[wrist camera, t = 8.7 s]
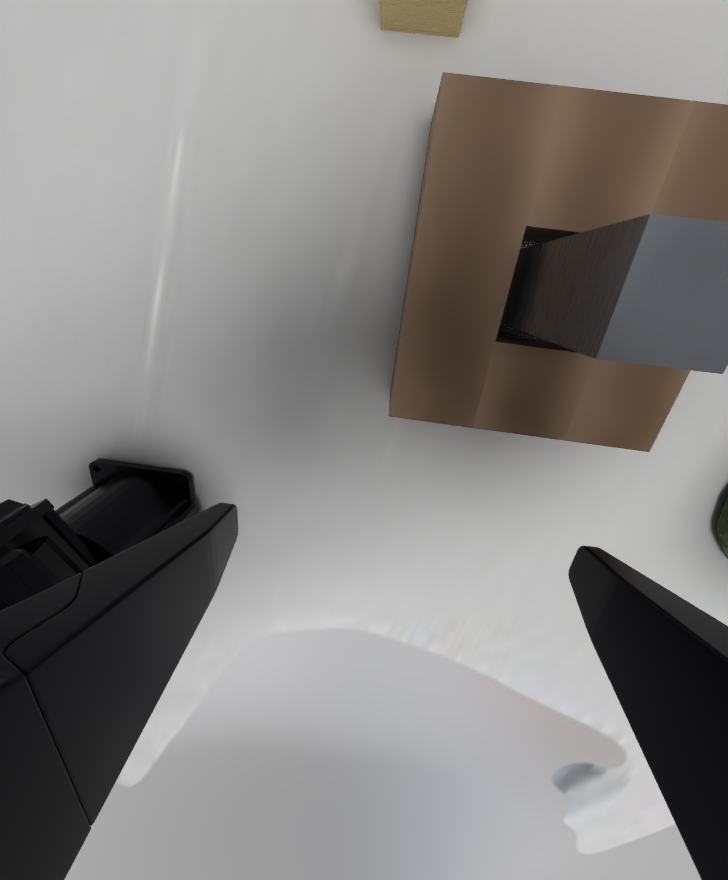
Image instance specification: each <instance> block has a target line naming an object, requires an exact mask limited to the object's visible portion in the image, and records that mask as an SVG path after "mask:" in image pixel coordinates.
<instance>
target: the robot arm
mask: <svg viewBox="0 0 728 880" xmlns="http://www.w3.org/2000/svg"><path fill="white" fill-rule="evenodd" d="M98 466H99V467H100V468H99V467H98ZM89 469H90V473H91V478H92V482H93V486H91V487H90V488H88V489H87V490H86V491H84V492H83V493H81V494H80V495H78V496H77V497H75V498H74V499H72V500H71V501H69V502H68V503H66V504H65V505H63V506H62V507H60V508H59V509H57V510H56V511H54V509H53V508H54V506H53V505H52V504H51V503H50V502H49V501H48V500H47V499H44V500H42V501H40V502H38V503H35V504H33V505H31V506H29V505H28V504H26V503H25V504H21V503H18V502H15V501H12V500H9V499H8V500H6V501H4V502H2V503H0V880H64V879H65V877H66V875H67V873H68V871H69V870H70V868H71V866H72V864H73V862H74V860H75V858H76V856H77V854H78V852H79V851H80V849H81V847H82V845H83V843H84V841H85V839H86V837H87V836H88V834H89V832H90V830H91V825H93V823H94V822H95V820H96V818H97V816H98V814H99V812H100V810H101V808H102V807H103V805H104V803H105V801H106V799H107V797H108V795H109V793H110V791H111V789H112V788H113V786H114V784H115V782H116V780H117V778H118V776H119V774H120V772H121V771H122V769H123V767H124V765H125V763H126V761H127V759H128V757H129V755H130V754H131V752H132V750H133V748H134V746H135V744H136V742H137V740H138V738H139V736H140V735H141V733H142V731H143V729H144V727H145V725H146V723H147V721H148V719H149V718H150V716H151V714H152V712H153V710H154V708H155V706H156V704H157V702H158V700H159V699H160V697H161V695H162V693H163V691H164V689H165V687H166V685H167V683H168V682H169V680H170V678H171V676H172V674H173V672H174V670H175V668H176V666H177V664H178V663H179V661H180V659H181V657H182V655H183V653H184V651H185V649H186V647H187V646H188V644H189V642H190V640H191V638H192V636H193V634H194V632H195V630H196V628H197V627H198V625H199V623H200V621H201V619H202V617H203V615H204V613H205V611H206V610H207V608H208V606H209V604H210V602H211V600H212V598H213V596H214V594H215V592H216V590H217V587H218V585H219V582H220V580H221V577H222V575H223V572H224V570H225V567H226V565H227V562H228V560H229V557H230V554H231V552H232V549H233V547H234V544H235V542H236V539H237V535H238V516H237V507H236V505H234V504H228V503H218V504H216V505H214V506H212V507H210V508H208V509H206V510H204V511H202V512H200V513H198V514H197V506H196V504H195V501H194V491H193V481H192V476H191V475H190V474H189V473H188V472H185V471H180V470H173V469H166V468H159V467H152V466H145V465H138V464H131V463H124V462H117V461H110V460H103V459H97V460H95V461H93V462H91V463H90V465H89ZM181 478H183V479H184V480H185V481H183V480H182V479H181ZM569 580H570V583H571V586H572V588H573V591H574V594H575V597H576V600H577V603H578V606H579V608H580V611H581V614H582V617H583V620H584V623H585V626H586V628H587V631H588V633H589V636H590V638H591V641H592V643H593V645H594V648H595V650H596V652H597V654H598V656H599V658H600V661H601V663H602V665H603V667H604V669H605V671H606V674H607V676H608V678H609V680H610V682H611V684H612V687H613V689H614V691H615V693H616V695H617V697H618V700H619V702H620V704H621V706H622V708H623V710H624V713H625V715H626V717H627V719H628V721H629V723H630V726H631V728H632V730H633V732H634V734H635V736H636V739H637V741H638V743H639V745H640V747H641V749H642V752H643V754H644V756H645V758H646V760H647V762H648V765H649V767H650V769H651V771H652V773H653V775H654V778H655V780H656V782H657V784H658V786H659V788H660V791H661V793H662V795H663V797H664V799H665V801H666V804H667V806H668V808H669V810H670V812H671V814H672V817H673V819H674V821H675V823H676V825H677V827H678V829H679V832H680V834H681V836H682V838H683V840H684V842H685V844H686V847H687V849H688V851H689V853H690V855H691V858H692V860H693V862H694V864H695V866H696V868H697V870H698V873H699V875H700V877H701V879H702V880H728V626H727V625H725V624H723V623H722V622H720V621H718V620H717V619H715V618H713V617H712V616H710V615H709V614H707V613H705V612H704V611H702V610H700V609H699V608H697V607H695V606H694V605H692V604H690V603H689V602H687V601H686V600H684V599H682V598H681V597H679V596H677V595H676V594H674V593H672V592H671V591H669V590H668V589H666V588H664V587H663V586H661V585H659V584H658V583H656V582H654V581H653V580H651V579H650V578H648V577H646V576H645V575H643V574H641V573H640V572H638V571H636V570H635V569H633V568H631V567H630V566H628V565H627V564H625V563H623V562H622V561H620V560H618V559H617V558H615V557H613V556H612V555H610V554H609V553H607V552H605V551H604V550H602V549H600V548H598V547H591V546H581V547H580V548H579V549H578V550H577V553H576V555H575V557H574V559H573V562H572V564H571V566H570V569H569Z"/></svg>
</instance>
